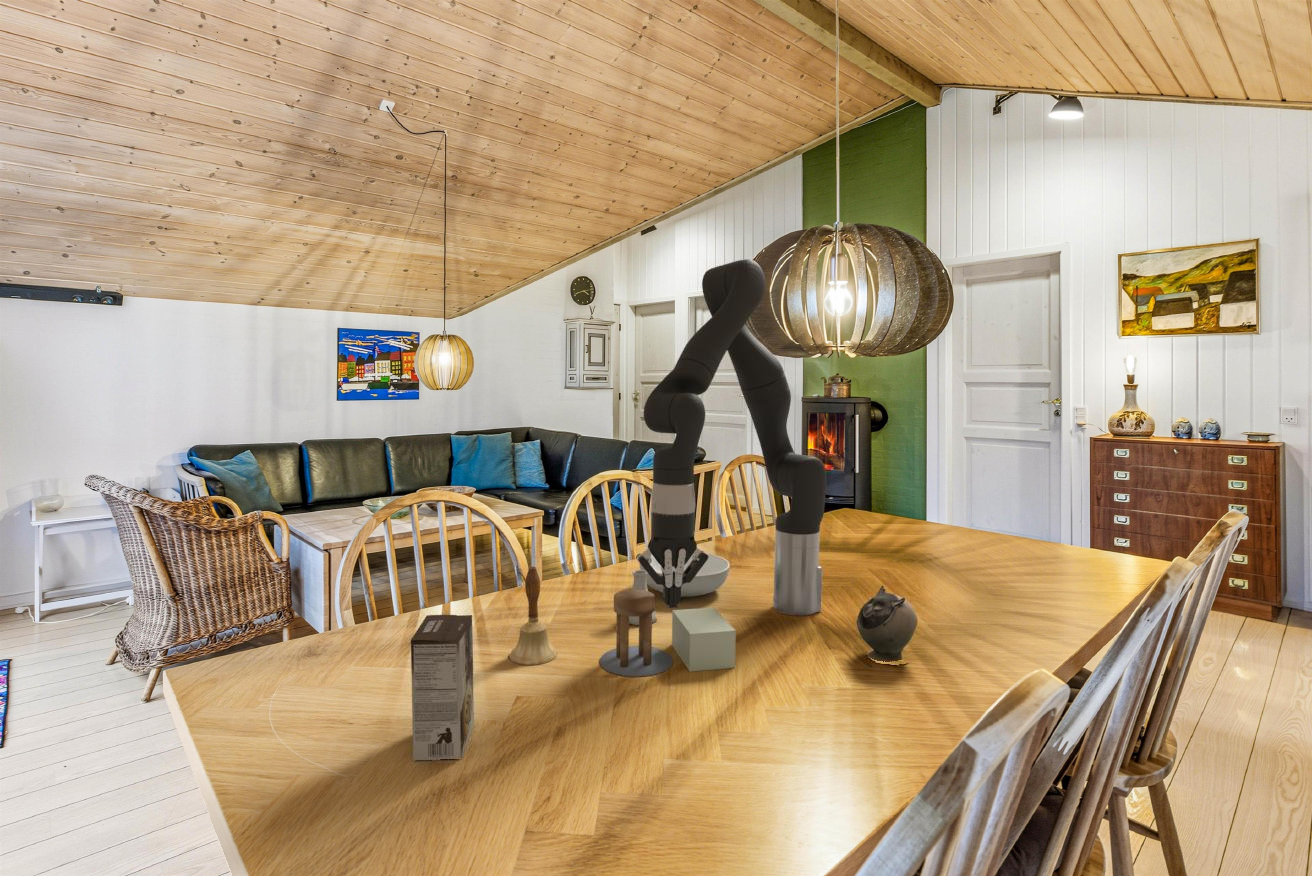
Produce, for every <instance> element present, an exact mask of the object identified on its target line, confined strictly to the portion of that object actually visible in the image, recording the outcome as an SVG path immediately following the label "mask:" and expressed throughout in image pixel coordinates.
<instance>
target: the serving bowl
mask: <svg viewBox="0 0 1312 876" xmlns="http://www.w3.org/2000/svg"><path fill="white" fill-rule="evenodd" d="M705 553H706V554H707V555H708V560H707V561H706V562H705V564H704V565H703V566H702V568H701V569H700V570H699V572H698V573H697V574H696V576H695V577H694V578H693V580H692V581H691V582H690V583H685V584H683V585H682V586H681V598H682V597H687V598H690V597H696V596H703V595H707V594H710V593H712V592H715V591H717V590H718V589H719V588H721V587H722V586H723V584H724V583H725V582H726V580H727V578H728V576H729V572H730V569H731V568H730V566H731V565H730V562H729V561H728V560H727V559H725V558H724V557H722V556H719V555H716V554H712V553H707V552H705ZM692 556H693V555H692ZM692 556H691V557H690V559H689V560H688V562H687V563H686V564H685V565H684V571H685V569H686V568H687V567H688V565H689V564H690V563H691V562H692V560H693V558H692ZM651 559H652V562H651V563H650V565H651V566H652V567H653V569H654V570H655V571H656V572H657V574H658V575H660V576H662V571H661V565H660V564H659V563H658V562H657V560H656V559H655V558H654V556H653V555H651ZM639 570H645V569H644V568H643V566H642V565H641V564H640V563H639ZM645 571H646V570H645ZM646 583H647V586H650V587H651V588H652V589H653V590H656V591H658V592H660V593H662V594H663V585H658V584H656V583H655V581H654V580H653V579H652V578H651V576H650V575H649V574H648V575H647V577H646Z"/></svg>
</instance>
